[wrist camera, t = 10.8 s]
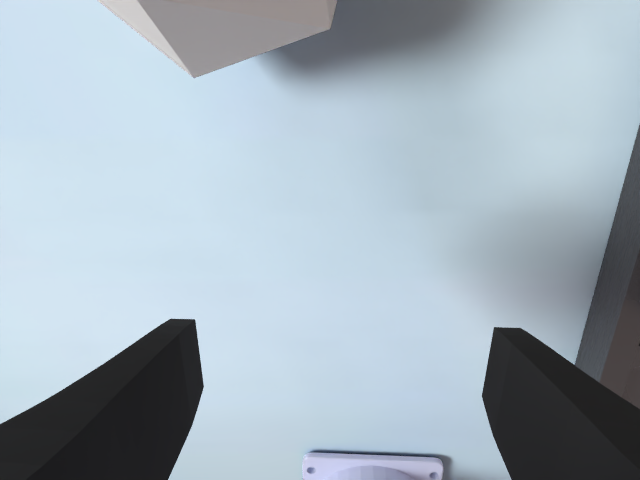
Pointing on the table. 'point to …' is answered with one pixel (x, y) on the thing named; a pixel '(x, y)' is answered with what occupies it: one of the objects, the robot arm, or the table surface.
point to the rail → (618, 299)
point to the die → (221, 27)
